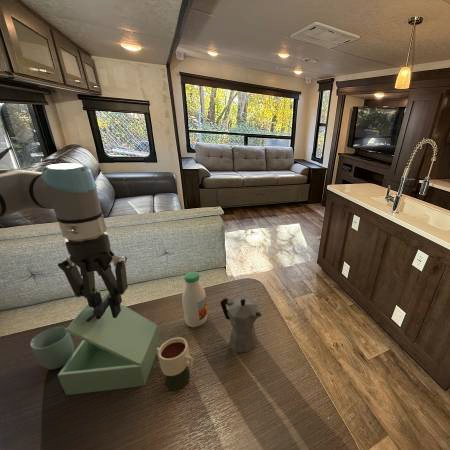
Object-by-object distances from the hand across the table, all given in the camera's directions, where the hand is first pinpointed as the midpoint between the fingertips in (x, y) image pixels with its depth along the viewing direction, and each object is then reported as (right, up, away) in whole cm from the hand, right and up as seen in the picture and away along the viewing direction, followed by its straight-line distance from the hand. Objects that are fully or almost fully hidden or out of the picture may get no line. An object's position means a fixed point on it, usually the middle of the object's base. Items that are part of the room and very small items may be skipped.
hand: (109, 314), depth 65 cm
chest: (-3, -18, +8) cm, 20 cm away
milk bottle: (+12, -12, +27) cm, 31 cm away
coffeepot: (+30, -16, +20) cm, 39 cm away
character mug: (+15, -21, +6) cm, 27 cm away
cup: (-20, -17, +8) cm, 28 cm away
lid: (0, -5, +2) cm, 5 cm away
